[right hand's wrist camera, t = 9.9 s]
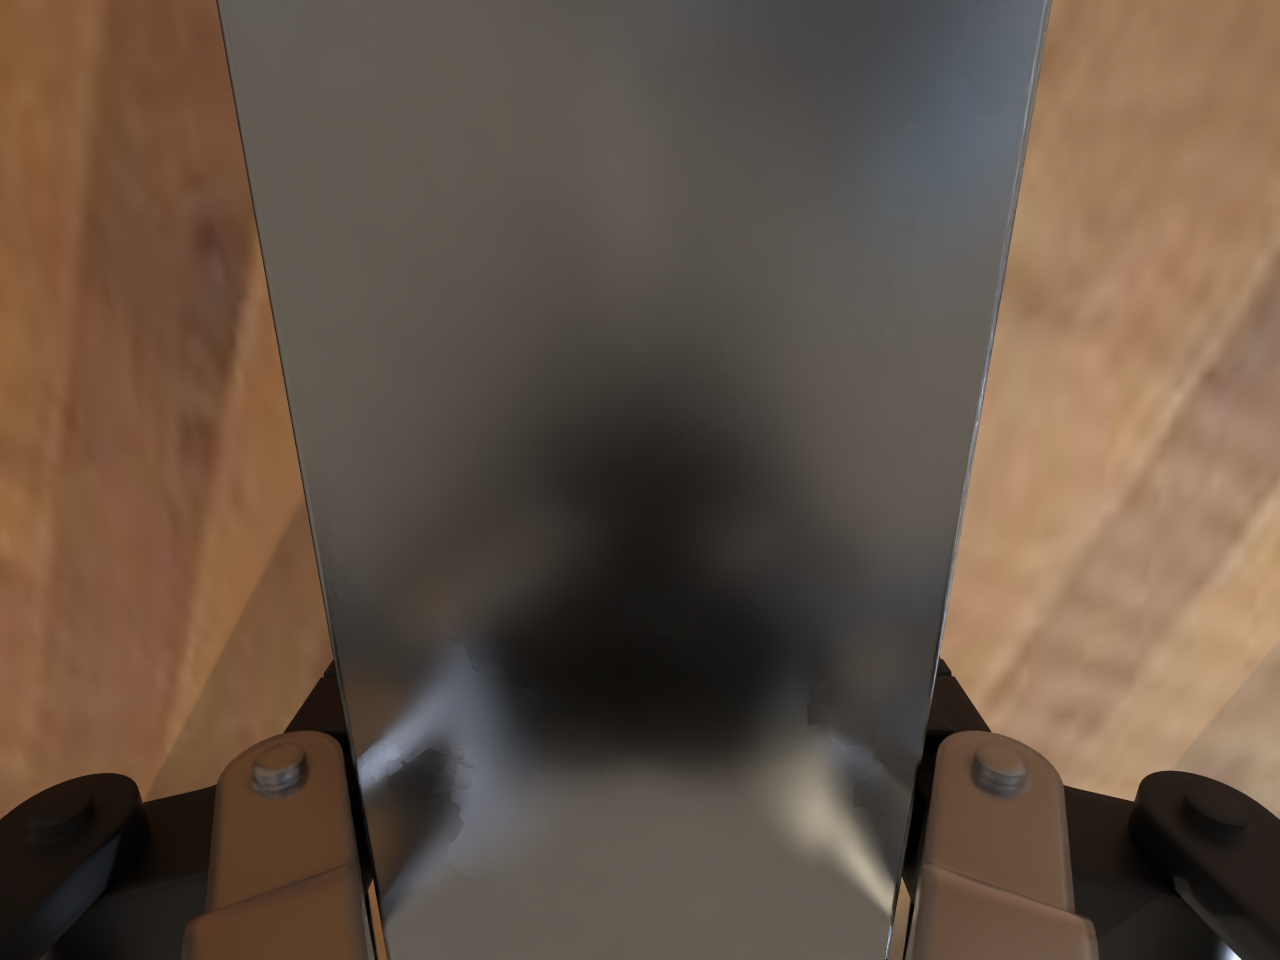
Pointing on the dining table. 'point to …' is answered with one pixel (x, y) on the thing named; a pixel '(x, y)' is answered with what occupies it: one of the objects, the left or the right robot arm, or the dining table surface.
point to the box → (635, 439)
